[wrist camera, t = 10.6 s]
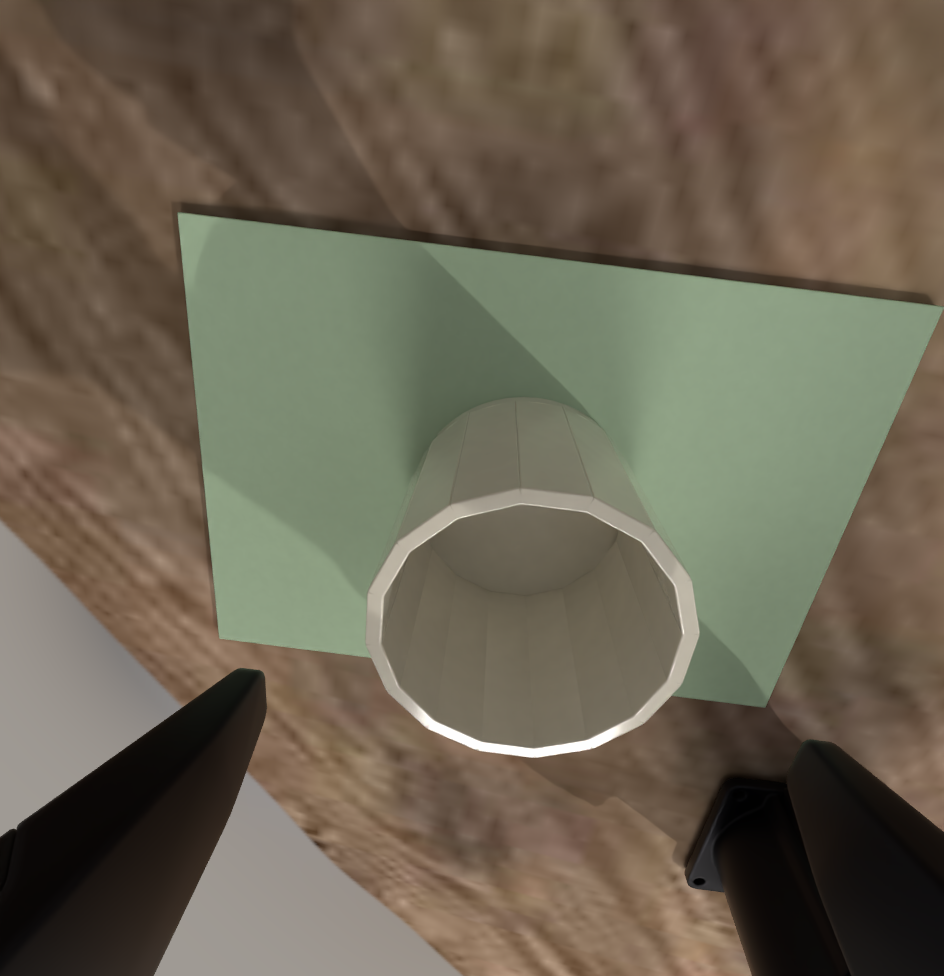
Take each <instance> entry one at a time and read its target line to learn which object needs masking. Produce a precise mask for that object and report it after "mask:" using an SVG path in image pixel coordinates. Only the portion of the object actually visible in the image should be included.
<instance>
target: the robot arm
mask: <svg viewBox="0 0 944 976" xmlns="http://www.w3.org/2000/svg"><path fill="white" fill-rule="evenodd" d="M266 709H267V704H266V687H265V676H264V673H263V672H262V671H260V670H253V669H245V668H239V669H237V670H235V671H233V672H232V673H230V674H229V675H227V676H226V677H225V678H223V679H222V680H220V681H219V682H218V683H216V684H215V685H213V686H212V687H211V688H209V689H208V690H206V691H205V692H204V693H202V694H201V695H199V696H198V697H196V698H195V699H194V700H192V701H191V702H189V703H188V704H187V705H185V706H184V707H182V708H181V709H180V710H178V711H177V712H175V713H174V714H173V715H171V716H170V717H169V718H167V719H166V720H164V721H163V722H161V723H160V724H159V725H157V726H156V727H154V728H153V729H152V730H150V731H149V732H147V733H146V734H144V735H143V736H142V737H140V738H139V739H137V741H135V742H133V743H132V744H131V745H129V746H128V747H126V748H125V749H124V750H122V751H121V752H119V753H118V754H117V755H115V756H114V757H112V758H111V759H109V760H108V761H107V762H105V763H104V764H102V765H101V766H100V767H98V768H97V769H95V770H94V771H92V772H91V773H90V774H88V775H87V776H85V777H84V778H83V779H81V780H80V781H78V782H77V783H76V784H74V785H73V786H71V787H70V788H69V789H67V790H66V791H65V792H63V793H62V794H60V795H59V796H57V797H56V798H55V799H53V800H52V801H50V802H49V803H48V804H46V805H45V806H43V807H42V808H40V809H39V810H38V811H36V812H35V813H33V814H32V815H31V816H29V817H28V818H26V819H25V820H24V821H22V822H21V823H20V824H19V825H18V826H17V830H16V829H11V830H9V831H8V832H6V833H5V834H4V835H2V836H1V837H0V976H154V974H155V972H156V970H157V968H158V966H159V963H160V961H161V959H162V957H163V955H164V953H165V951H166V949H167V947H168V945H169V943H170V940H171V938H172V936H173V934H174V932H175V930H176V928H177V926H178V924H179V922H180V920H181V917H182V915H183V913H184V911H185V909H186V907H187V905H188V903H189V901H190V899H191V897H192V895H193V893H194V890H195V888H196V886H197V884H198V882H199V880H200V878H201V876H202V874H203V872H204V870H205V867H206V865H207V863H208V861H209V859H210V857H211V855H212V853H213V851H214V849H215V847H216V844H217V842H218V840H219V838H220V836H221V834H222V832H223V830H224V828H225V825H226V823H227V821H228V818H229V816H230V814H231V812H232V809H233V806H234V804H235V801H236V798H237V795H238V793H239V790H240V787H241V785H242V782H243V779H244V776H245V773H246V771H247V768H248V765H249V762H250V759H251V757H252V754H253V751H254V748H255V746H256V743H257V740H258V737H259V734H260V732H261V729H262V726H263V723H264V720H265V716H266ZM685 876H686V880H687V883H688V885H689V886H690V887H692V888H695V889H702V890H710V891H718V892H724V893H725V896H726V899H727V902H728V905H729V908H730V911H731V914H732V917H733V920H734V923H735V926H736V929H737V932H738V935H739V938H740V941H741V944H742V947H743V950H744V953H745V956H746V959H747V962H748V965H749V968H750V971H751V974H752V976H944V832H943V831H942V830H941V829H939V828H938V827H937V826H936V825H934V824H933V823H932V822H931V821H929V820H928V819H927V818H926V817H925V816H923V815H922V814H921V813H920V812H918V811H917V810H916V809H915V808H913V807H912V806H911V805H910V804H909V803H907V802H906V801H905V800H904V799H902V798H901V797H900V796H899V795H897V794H896V793H895V792H894V791H893V790H891V789H890V788H889V787H888V786H886V785H885V784H884V783H883V782H881V781H880V780H879V779H878V778H877V777H875V776H874V775H873V774H872V773H870V772H869V771H868V770H867V769H865V768H864V767H863V766H862V765H861V764H859V763H858V762H857V761H856V760H854V759H853V758H852V757H851V756H849V755H848V754H847V753H846V752H845V751H843V750H842V749H841V748H840V747H838V746H837V745H836V744H834V743H831V742H826V741H819V740H806V741H805V742H803V743H802V745H801V747H800V749H799V751H798V753H797V755H796V757H795V759H794V761H793V763H792V765H791V767H790V769H789V771H788V774H787V784H785V783H777V782H769V781H761V780H753V779H745V778H731V779H728V780H727V781H725V782H724V784H723V785H722V787H721V790H720V792H719V794H718V796H717V799H716V801H715V803H714V805H713V808H712V810H711V812H710V815H709V817H708V819H707V821H706V824H705V826H704V828H703V831H702V833H701V835H700V837H699V840H698V842H697V844H696V847H695V849H694V851H693V853H692V856H691V858H690V860H689V863H688V865H687V867H686V869H685Z"/></svg>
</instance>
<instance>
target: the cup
mask: <svg viewBox="0 0 944 976" xmlns="http://www.w3.org/2000/svg"><path fill="white" fill-rule="evenodd" d="M699 633H700V630H699V623H698V617H697V610H696V603H695V597H694V590H693V584H692V579H691V577H690V575H689V573H688V571H687V569H686V568H685V566H684V564H683V562H682V560H681V558H680V557H679V555H678V553H677V551H676V549H675V548H674V546H673V544H672V542H671V540H670V538H669V537H668V535H667V533H666V531H665V529H664V527H663V526H662V524H661V522H660V520H659V518H658V516H657V515H656V513H655V511H654V509H653V507H652V505H651V504H650V502H649V500H648V498H647V496H646V494H645V493H644V491H643V489H642V487H641V485H640V483H639V482H638V480H637V478H636V476H635V474H634V472H633V471H632V469H631V467H630V465H629V463H628V462H627V461H626V459H625V458H624V457H623V455H622V454H621V452H620V451H619V449H618V447H617V446H616V444H615V443H614V441H613V440H612V439H611V437H610V436H609V435H608V434H607V433H606V431H605V430H604V429H603V428H602V427H600V426H599V425H598V424H597V423H596V422H595V421H594V420H592V419H591V418H589V417H588V416H586V415H585V414H583V413H582V412H580V411H578V410H576V409H574V408H572V407H570V406H568V405H565V404H562V403H559V402H556V401H552V400H547V399H542V398H533V397H513V398H504V399H499V400H494V401H490V402H487V403H484V404H481V405H478V406H476V407H474V408H472V409H470V410H468V411H466V412H464V413H463V414H461V415H460V416H458V417H457V418H455V419H453V420H452V421H451V422H450V423H449V424H447V425H446V426H445V427H444V428H443V429H442V430H441V431H440V432H439V433H438V434H437V435H436V437H435V438H434V439H433V440H432V441H431V443H430V445H429V446H428V448H427V449H426V451H425V452H424V455H423V457H422V459H421V461H420V463H419V465H418V467H417V469H416V471H415V473H414V474H413V476H412V479H411V481H410V484H409V486H408V489H407V492H406V494H405V497H404V499H403V502H402V504H401V507H400V509H399V512H398V515H397V517H396V520H395V522H394V525H393V527H392V530H391V532H390V535H389V538H388V540H387V543H386V545H385V548H384V550H383V553H382V555H381V558H380V560H379V563H378V566H377V568H376V571H375V573H374V576H373V578H372V581H371V583H370V586H369V589H368V592H367V608H366V633H365V643H366V647H367V649H368V651H369V654H370V656H371V658H372V660H373V662H374V665H375V667H376V669H377V671H378V674H379V676H380V678H381V680H382V682H383V685H384V687H385V689H386V691H387V692H388V693H389V694H390V695H391V696H392V697H393V698H394V699H395V700H396V701H397V702H398V703H400V704H401V705H402V706H403V707H404V708H405V709H406V710H407V711H408V712H409V713H410V714H411V715H412V716H414V717H415V718H416V719H417V720H418V721H419V722H420V723H421V724H422V725H423V726H424V727H427V729H429V730H432V731H434V732H436V733H438V734H441V735H443V736H445V737H447V738H450V739H452V740H454V741H456V742H459V743H461V744H463V745H465V746H468V747H470V748H472V749H474V750H478V751H483V752H490V753H498V754H506V755H514V756H522V757H530V758H534V757H535V758H539V757H545V756H552V755H558V754H565V753H571V752H578V751H584V750H590V749H592V748H596V747H598V746H600V745H602V744H604V743H606V742H608V741H610V740H612V739H614V738H616V737H618V736H621V735H623V734H625V733H627V732H629V731H631V730H633V729H635V728H637V727H639V726H641V725H643V723H645V722H646V721H647V720H648V719H649V718H650V717H651V716H652V715H653V714H654V713H655V712H656V711H657V710H658V709H659V708H660V707H661V706H662V705H663V704H664V703H665V702H666V701H667V700H668V699H669V698H670V696H671V695H672V694H673V693H674V692H675V691H676V690H677V689H678V688H679V687H680V686H681V684H682V683H683V680H684V677H685V675H686V672H687V669H688V666H689V663H690V661H691V658H692V655H693V652H694V649H695V646H696V644H697V641H698V638H699Z"/></svg>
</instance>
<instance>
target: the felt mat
mask: <svg viewBox="0 0 944 976" xmlns="http://www.w3.org/2000/svg"><path fill="white" fill-rule="evenodd" d="M178 223H179V233H180V243H181V254H182V264H183V274H184V284H185V294H186V305H187V315H188V325H189V335H190V345H191V356H192V366H193V376H194V386H195V396H196V406H197V417H198V427H199V437H200V447H201V457H202V468H203V478H204V488H205V498H206V508H207V519H208V529H209V539H210V549H211V559H212V569H213V580H214V590H215V600H216V610H217V620H218V631H219V638H220V639H227V640H235V641H243V642H251V643H259V644H267V645H275V646H283V647H290V648H298V649H306V650H314V651H322V652H330V653H338V654H346V655H354V656H361V657H369V658H371V656H370V654H369V651H368V649H367V647H366V643H365V633H366V608H367V592H368V589H369V586H370V583H371V581H372V578H373V576H374V573H375V571H376V568H377V566H378V563H379V560H380V558H381V555H382V553H383V550H384V548H385V545H386V543H387V540H388V538H389V535H390V532H391V530H392V527H393V525H394V522H395V520H396V517H397V515H398V512H399V509H400V507H401V504H402V502H403V499H404V497H405V494H406V492H407V489H408V486H409V484H410V481H411V479H412V476H413V474H414V473H415V471H416V469H417V467H418V465H419V463H420V461H421V459H422V457H423V455H424V452H425V451H426V449H427V448H428V446H429V445H430V443H431V441H432V440H433V439H434V438H435V437H436V435H437V434H438V433H439V432H440V431H441V430H442V429H443V428H444V427H445V426H446V425H447V424H449V423H450V422H451V421H452V420H453V419H455V418H457V417H458V416H460V415H461V414H463V413H464V412H466V411H468V410H470V409H472V408H474V407H476V406H478V405H481V404H484V403H487V402H490V401H494V400H499V399H504V398H513V397H533V398H542V399H547V400H552V401H556V402H559V403H562V404H565V405H568V406H570V407H572V408H574V409H576V410H578V411H580V412H582V413H583V414H585V415H586V416H588V417H589V418H591V419H592V420H594V421H595V422H596V423H597V424H598V425H599V426H600V427H602V428H603V429H604V430H605V431H606V433H607V434H608V435H609V436H610V437H611V439H612V440H613V441H614V443H615V444H616V446H617V447H618V449H619V451H620V452H621V454H622V455H623V457H624V458H625V459H626V461H627V462H628V463H629V465H630V467H631V469H632V471H633V472H634V474H635V476H636V478H637V480H638V482H639V483H640V485H641V487H642V489H643V491H644V493H645V494H646V496H647V498H648V500H649V502H650V504H651V505H652V507H653V509H654V511H655V513H656V515H657V516H658V518H659V520H660V522H661V524H662V526H663V527H664V529H665V531H666V533H667V535H668V537H669V538H670V540H671V542H672V544H673V546H674V548H675V549H676V551H677V553H678V555H679V557H680V558H681V560H682V562H683V564H684V566H685V568H686V569H687V571H688V573H689V575H690V577H691V579H692V584H693V590H694V597H695V603H696V610H697V617H698V623H699V630H700V633H699V638H698V641H697V644H696V646H695V649H694V652H693V655H692V658H691V661H690V663H689V666H688V669H687V672H686V675H685V677H684V680H683V683H682V684H681V686H680V687H679V688H678V689H677V690H676V691H675V692H674V693H673V694H672V695H671V696H677V697H685V698H693V699H701V700H709V701H716V702H724V703H732V704H740V705H748V706H756V707H764V708H765V707H766V705H767V702H768V700H769V698H770V696H771V693H772V691H773V689H774V687H775V684H776V682H777V680H778V678H779V676H780V673H781V671H782V669H783V667H784V664H785V662H786V660H787V658H788V655H789V653H790V651H791V649H792V646H793V644H794V642H795V640H796V638H797V635H798V633H799V631H800V629H801V626H802V624H803V622H804V620H805V617H806V615H807V613H808V611H809V608H810V606H811V604H812V602H813V599H814V597H815V595H816V593H817V591H818V588H819V586H820V584H821V582H822V579H823V577H824V575H825V573H826V570H827V568H828V566H829V564H830V561H831V559H832V557H833V555H834V553H835V550H836V548H837V546H838V544H839V541H840V539H841V537H842V535H843V532H844V530H845V528H846V526H847V523H848V521H849V519H850V517H851V515H852V512H853V510H854V508H855V506H856V503H857V501H858V499H859V497H860V494H861V492H862V490H863V488H864V485H865V483H866V481H867V479H868V476H869V474H870V472H871V470H872V468H873V465H874V463H875V461H876V459H877V456H878V454H879V452H880V450H881V447H882V445H883V443H884V441H885V438H886V436H887V434H888V432H889V430H890V427H891V425H892V423H893V421H894V418H895V416H896V414H897V412H898V409H899V407H900V405H901V403H902V400H903V398H904V396H905V394H906V391H907V389H908V387H909V385H910V383H911V380H912V378H913V376H914V374H915V371H916V369H917V367H918V365H919V362H920V360H921V358H922V356H923V353H924V351H925V349H926V347H927V345H928V342H929V340H930V338H931V336H932V333H933V331H934V329H935V327H936V324H937V322H938V320H939V318H940V315H941V313H942V311H943V309H944V307H943V306H937V305H929V304H921V303H913V302H905V301H897V300H889V299H881V298H873V297H865V296H857V295H848V294H840V293H832V292H824V291H816V290H808V289H800V288H792V287H784V286H775V285H767V284H759V283H751V282H743V281H735V280H727V279H719V278H711V277H702V276H694V275H686V274H678V273H670V272H662V271H654V270H646V269H638V268H629V267H621V266H613V265H605V264H597V263H589V262H581V261H573V260H565V259H557V258H548V257H540V256H532V255H524V254H516V253H508V252H500V251H492V250H484V249H475V248H467V247H459V246H451V245H443V244H435V243H427V242H419V241H411V240H402V239H394V238H386V237H378V236H370V235H362V234H354V233H346V232H338V231H329V230H321V229H313V228H305V227H297V226H289V225H281V224H273V223H265V222H256V221H248V220H240V219H232V218H224V217H216V216H208V215H200V214H192V213H183V212H178Z"/></svg>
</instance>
